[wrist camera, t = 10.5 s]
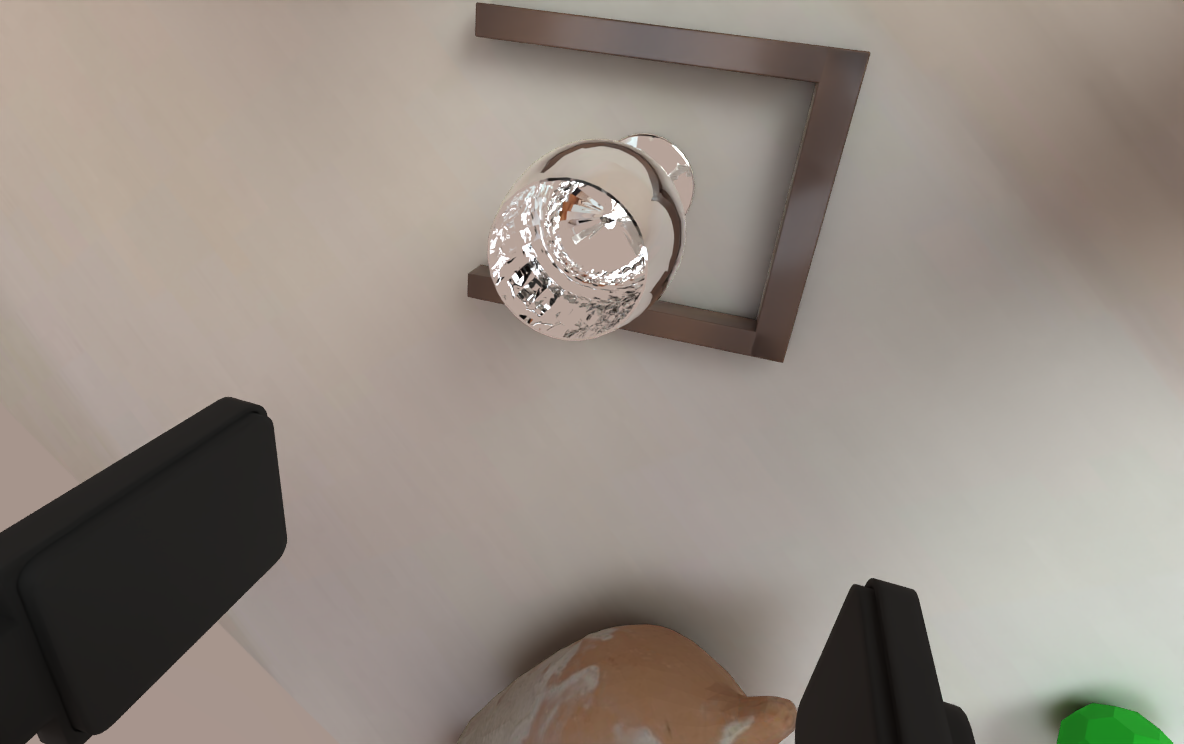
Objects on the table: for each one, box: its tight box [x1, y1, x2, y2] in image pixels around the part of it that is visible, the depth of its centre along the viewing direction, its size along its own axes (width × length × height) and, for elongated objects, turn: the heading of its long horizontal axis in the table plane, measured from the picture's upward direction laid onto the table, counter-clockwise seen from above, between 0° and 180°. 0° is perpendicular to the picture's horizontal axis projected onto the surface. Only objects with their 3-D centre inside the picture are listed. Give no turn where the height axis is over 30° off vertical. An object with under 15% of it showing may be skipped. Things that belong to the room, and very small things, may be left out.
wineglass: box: [487, 133, 695, 341], centre depth 23 cm, size 6×6×12 cm
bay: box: [468, 2, 870, 363], centre depth 28 cm, size 15×12×2 cm
